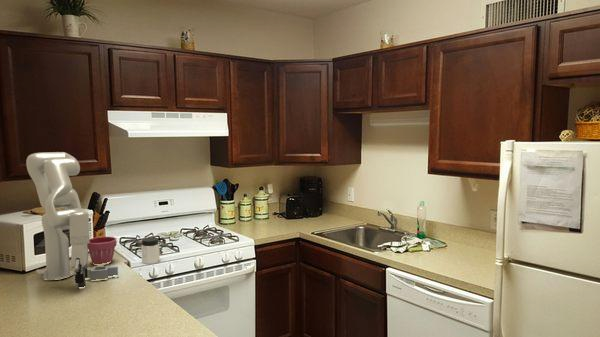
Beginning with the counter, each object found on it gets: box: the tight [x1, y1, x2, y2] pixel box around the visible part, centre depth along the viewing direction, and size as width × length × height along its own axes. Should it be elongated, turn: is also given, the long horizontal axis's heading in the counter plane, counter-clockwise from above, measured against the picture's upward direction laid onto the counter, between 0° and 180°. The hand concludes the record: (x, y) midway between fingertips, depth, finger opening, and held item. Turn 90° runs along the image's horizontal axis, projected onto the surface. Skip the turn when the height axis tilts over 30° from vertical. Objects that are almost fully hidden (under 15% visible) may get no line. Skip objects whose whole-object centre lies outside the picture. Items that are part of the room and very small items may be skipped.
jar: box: [140, 237, 161, 265], centre depth 220 cm, size 9×8×12 cm
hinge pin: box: [77, 263, 88, 288], centre depth 181 cm, size 5×5×10 cm
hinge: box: [87, 264, 119, 281], centre depth 193 cm, size 15×7×5 cm, turn 105°
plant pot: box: [87, 236, 118, 264], centre depth 216 cm, size 14×14×13 cm
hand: (81, 279), depth 181 cm, fingers open, 6 cm apart
